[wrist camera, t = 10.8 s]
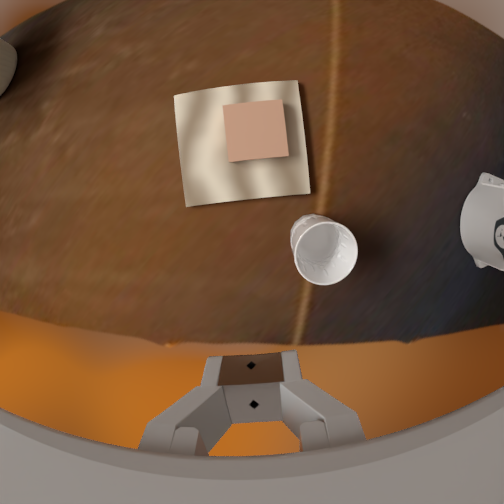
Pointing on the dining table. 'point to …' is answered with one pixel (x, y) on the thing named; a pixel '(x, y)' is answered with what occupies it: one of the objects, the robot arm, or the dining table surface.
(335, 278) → the white cup
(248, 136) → the block
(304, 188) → the board
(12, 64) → the canister
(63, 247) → the dining table surface
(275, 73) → the dining table surface
